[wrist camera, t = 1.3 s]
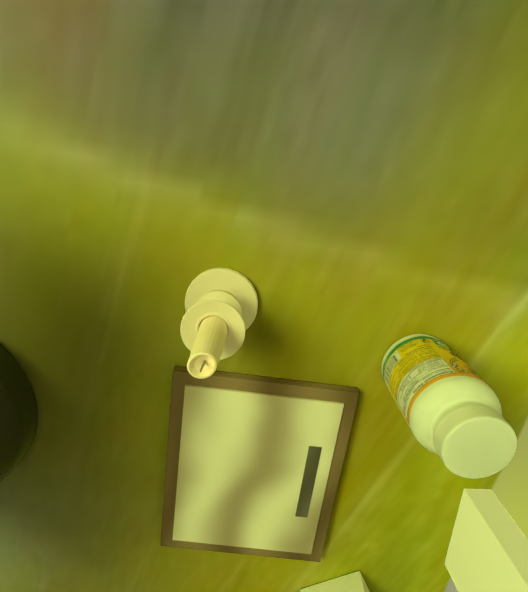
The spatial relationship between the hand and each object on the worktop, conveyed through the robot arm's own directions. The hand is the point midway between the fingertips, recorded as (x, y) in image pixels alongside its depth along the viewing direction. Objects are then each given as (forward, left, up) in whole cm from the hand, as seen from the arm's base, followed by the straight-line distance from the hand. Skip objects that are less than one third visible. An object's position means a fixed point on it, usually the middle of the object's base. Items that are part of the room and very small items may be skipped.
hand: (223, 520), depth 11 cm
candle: (-2, 0, -19) cm, 19 cm away
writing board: (+2, -14, -19) cm, 24 cm away
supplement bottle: (+13, -3, -19) cm, 23 cm away
